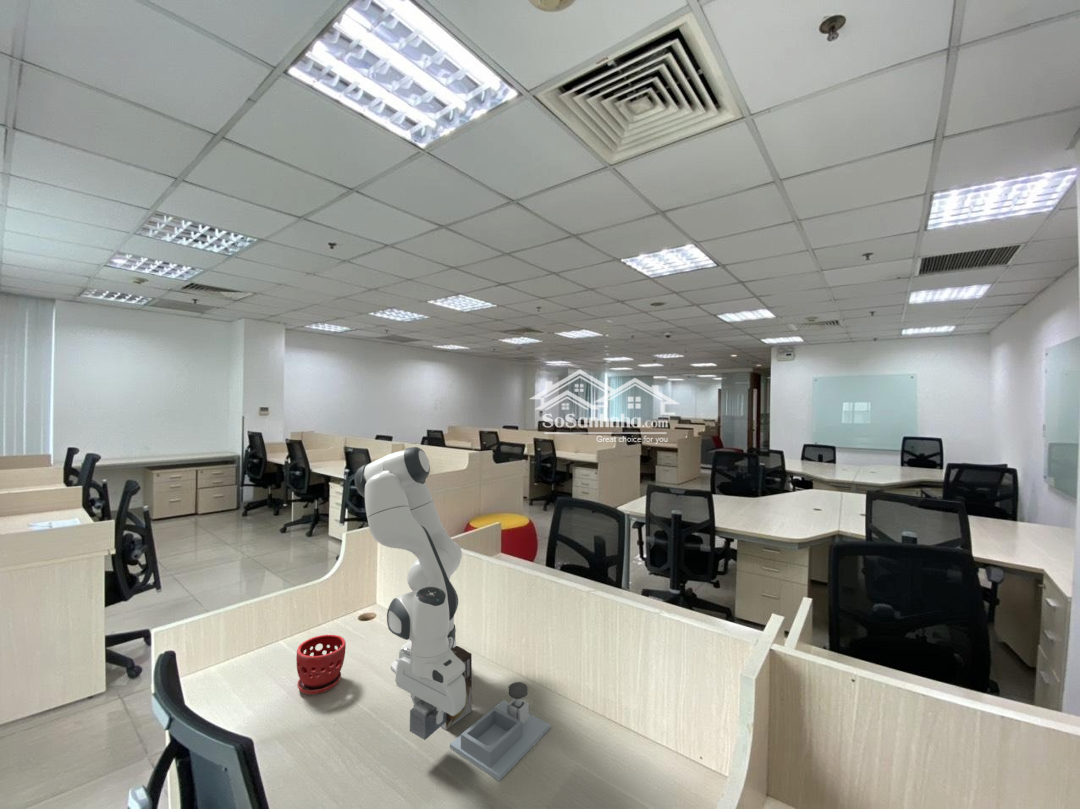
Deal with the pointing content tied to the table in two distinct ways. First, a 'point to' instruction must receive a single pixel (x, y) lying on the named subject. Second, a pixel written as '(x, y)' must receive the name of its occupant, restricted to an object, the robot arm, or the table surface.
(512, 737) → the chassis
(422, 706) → the grey rectangular block
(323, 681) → the plant pot
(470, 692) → the coffee box
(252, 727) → the table surface
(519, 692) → the dark grey round knob
